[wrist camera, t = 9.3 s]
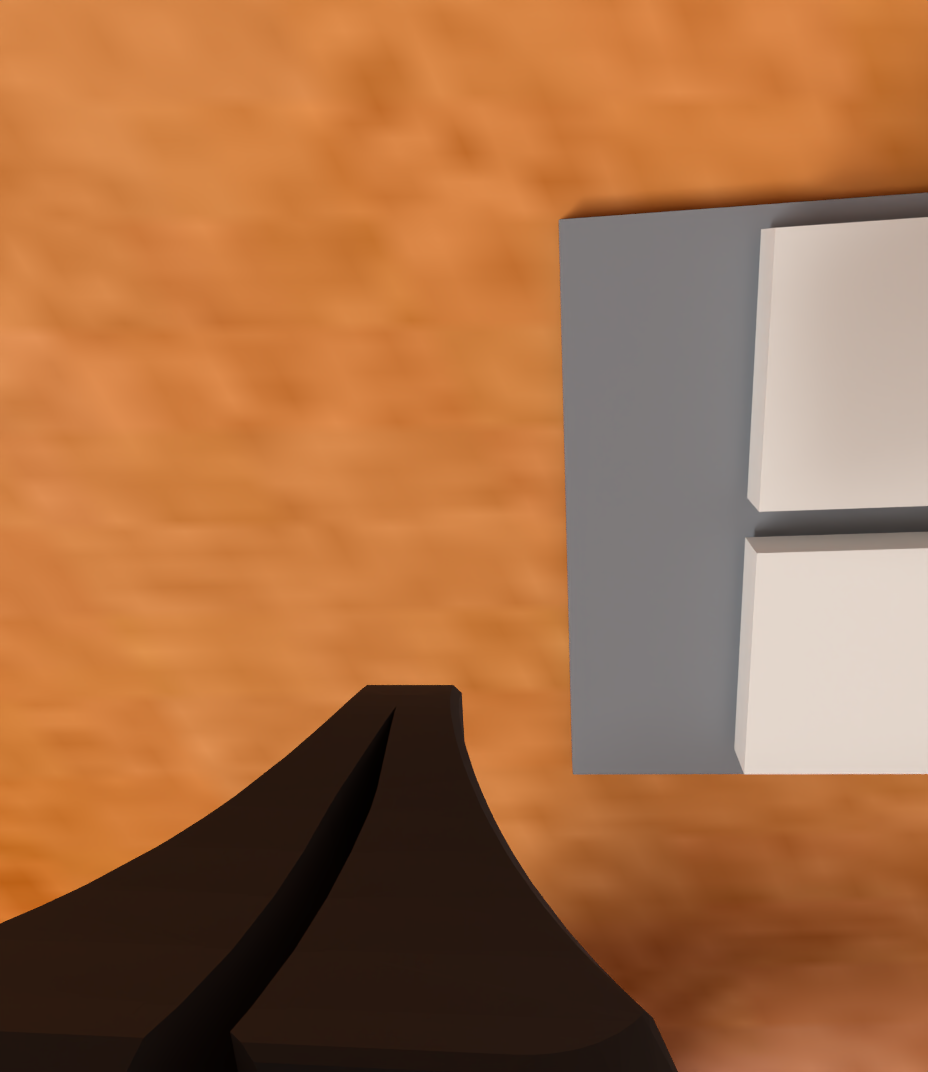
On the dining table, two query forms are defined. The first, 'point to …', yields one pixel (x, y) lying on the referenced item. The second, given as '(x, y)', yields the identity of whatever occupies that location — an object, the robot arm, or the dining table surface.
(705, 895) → the dining table surface
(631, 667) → the mat
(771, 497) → the tile
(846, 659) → the tile
